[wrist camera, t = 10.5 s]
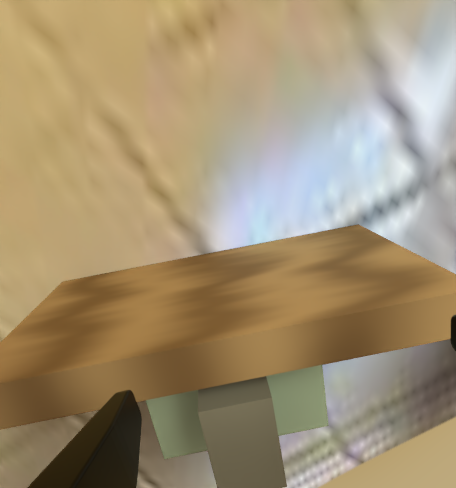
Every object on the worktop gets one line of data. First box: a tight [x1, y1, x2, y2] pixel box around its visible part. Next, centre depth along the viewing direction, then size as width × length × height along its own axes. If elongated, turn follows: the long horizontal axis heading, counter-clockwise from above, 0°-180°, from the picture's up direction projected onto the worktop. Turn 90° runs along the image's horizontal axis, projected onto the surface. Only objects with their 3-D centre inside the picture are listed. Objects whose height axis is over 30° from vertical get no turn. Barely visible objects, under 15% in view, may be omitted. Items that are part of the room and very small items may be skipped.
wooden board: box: [0, 225, 456, 430], centre depth 18 cm, size 20×7×10 cm, turn 100°
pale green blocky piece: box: [146, 365, 328, 488], centre depth 18 cm, size 9×6×10 cm, turn 100°
